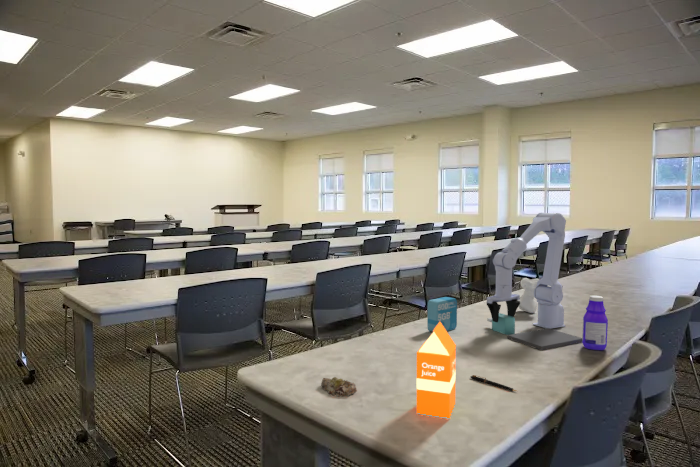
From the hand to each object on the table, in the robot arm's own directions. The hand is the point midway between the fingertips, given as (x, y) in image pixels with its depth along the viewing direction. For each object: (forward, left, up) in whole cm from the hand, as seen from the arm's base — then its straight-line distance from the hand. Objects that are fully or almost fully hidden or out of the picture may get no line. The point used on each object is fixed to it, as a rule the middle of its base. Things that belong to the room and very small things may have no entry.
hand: (503, 320), depth 176 cm
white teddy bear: (-32, -17, -4) cm, 37 cm away
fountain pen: (+40, +38, -5) cm, 55 cm away
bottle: (-12, +29, -4) cm, 32 cm away
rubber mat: (-5, +15, -4) cm, 16 cm away
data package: (+19, -12, -4) cm, 23 cm away
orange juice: (+62, +43, -4) cm, 76 cm away
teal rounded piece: (0, -1, -4) cm, 4 cm away
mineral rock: (+78, +22, -5) cm, 81 cm away
